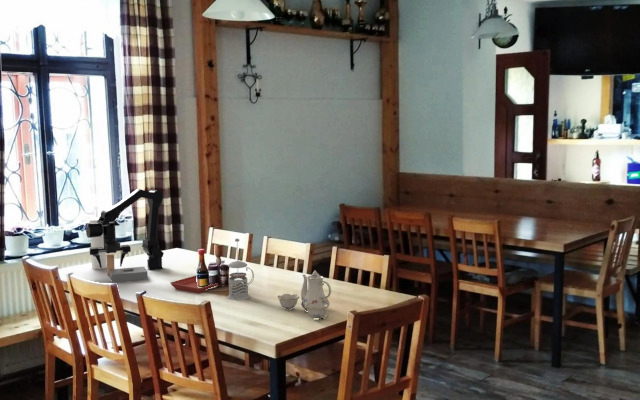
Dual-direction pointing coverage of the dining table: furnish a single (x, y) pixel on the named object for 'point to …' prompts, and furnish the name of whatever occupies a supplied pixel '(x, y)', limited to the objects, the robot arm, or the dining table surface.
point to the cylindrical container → (100, 244)
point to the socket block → (128, 274)
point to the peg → (110, 263)
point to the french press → (238, 281)
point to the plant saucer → (190, 285)
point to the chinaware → (309, 296)
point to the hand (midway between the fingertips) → (110, 267)
